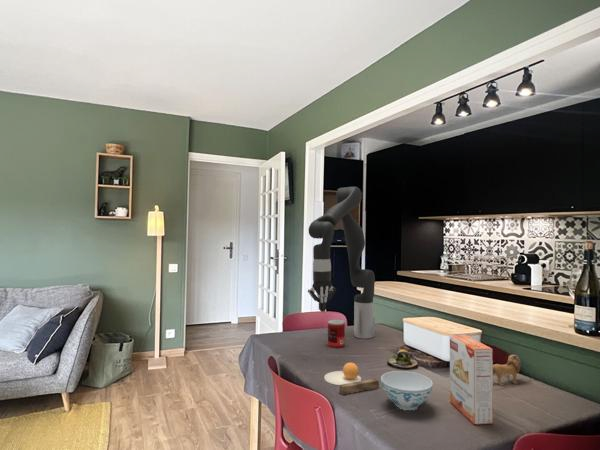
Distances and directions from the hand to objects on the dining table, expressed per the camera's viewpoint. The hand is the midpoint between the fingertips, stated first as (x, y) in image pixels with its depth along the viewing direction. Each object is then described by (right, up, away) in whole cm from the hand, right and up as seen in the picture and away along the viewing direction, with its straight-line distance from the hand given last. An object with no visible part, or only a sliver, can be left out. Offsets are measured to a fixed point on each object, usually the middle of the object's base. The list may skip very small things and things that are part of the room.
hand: (322, 311), depth 160 cm
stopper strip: (+10, -19, -33) cm, 39 cm away
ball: (+9, -16, -23) cm, 29 cm away
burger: (+31, -20, -8) cm, 38 cm away
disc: (+6, -19, -23) cm, 30 cm away
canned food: (+7, -20, +16) cm, 26 cm away
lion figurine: (+62, -19, -25) cm, 70 cm away
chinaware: (+23, -19, -44) cm, 53 cm away
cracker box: (+40, -19, -48) cm, 65 cm away
